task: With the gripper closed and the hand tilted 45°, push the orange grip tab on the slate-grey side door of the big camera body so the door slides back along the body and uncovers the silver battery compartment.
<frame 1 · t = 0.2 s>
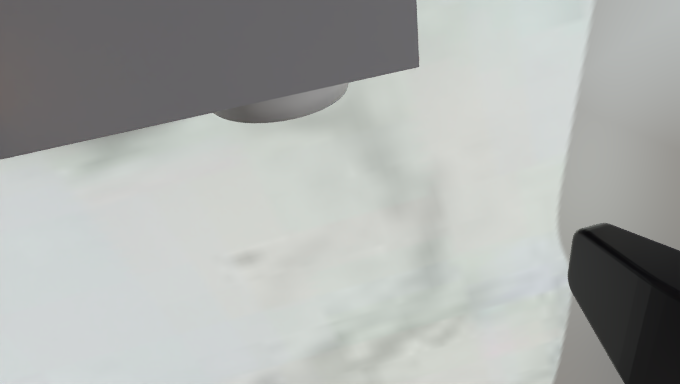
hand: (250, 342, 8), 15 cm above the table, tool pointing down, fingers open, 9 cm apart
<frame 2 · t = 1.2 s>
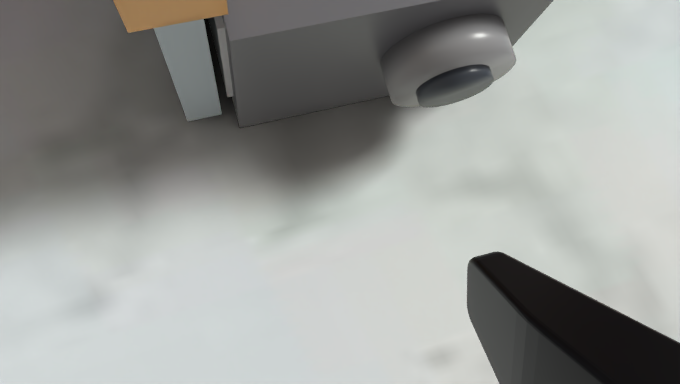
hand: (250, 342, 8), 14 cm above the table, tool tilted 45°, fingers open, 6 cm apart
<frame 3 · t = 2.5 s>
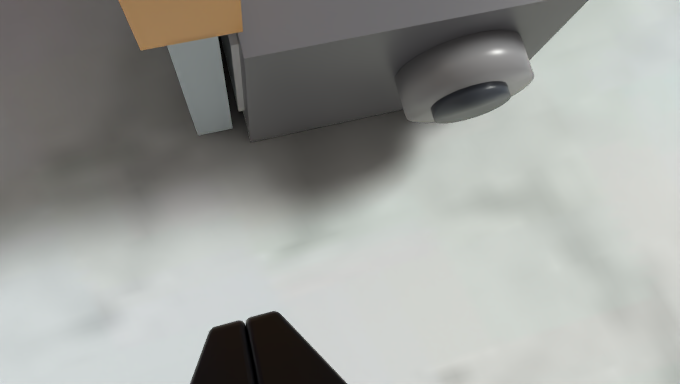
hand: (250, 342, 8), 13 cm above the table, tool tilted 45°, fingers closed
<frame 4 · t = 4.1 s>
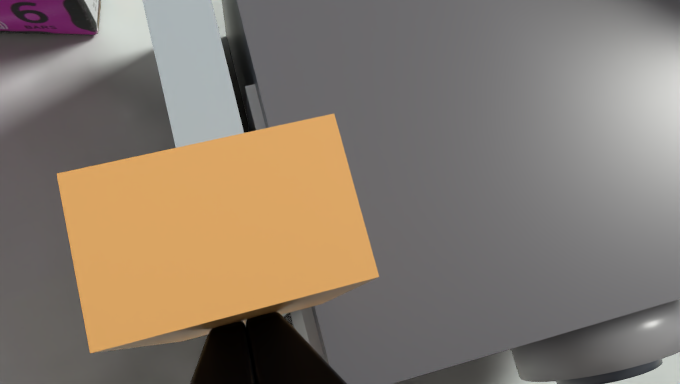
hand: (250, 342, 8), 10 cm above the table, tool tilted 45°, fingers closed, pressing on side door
side door: (199, 91, 12), point 7 cm above the table, slide at 1.2 cm, touching gripper
camera body: (418, 159, 19), on the table
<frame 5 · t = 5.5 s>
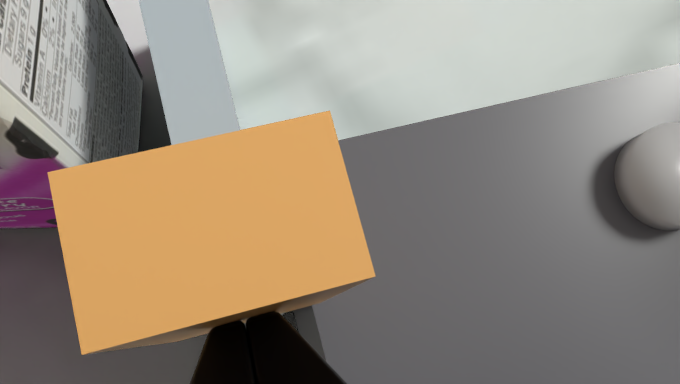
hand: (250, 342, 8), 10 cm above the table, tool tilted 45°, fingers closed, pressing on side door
side door: (195, 89, 12), point 7 cm above the table, slide at 7.2 cm, touching gripper
camera body: (475, 353, 18), on the table
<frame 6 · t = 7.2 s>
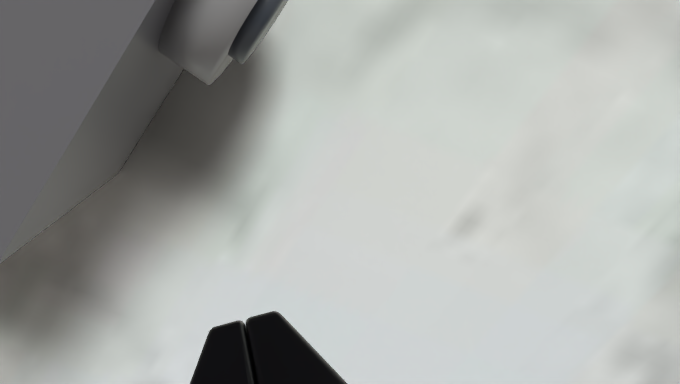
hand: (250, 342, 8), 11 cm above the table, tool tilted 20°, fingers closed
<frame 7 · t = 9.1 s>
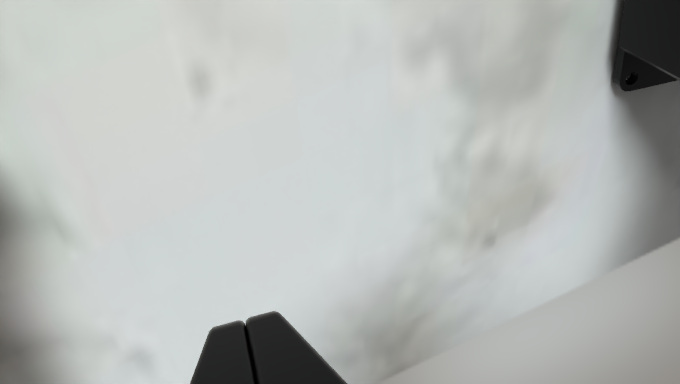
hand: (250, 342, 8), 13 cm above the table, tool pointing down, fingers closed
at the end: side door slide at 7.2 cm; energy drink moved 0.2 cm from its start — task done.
